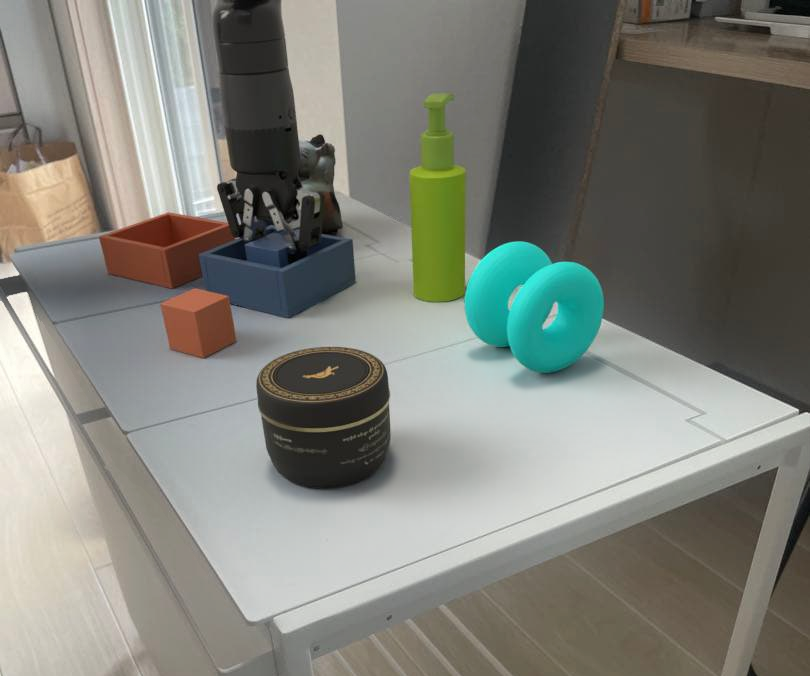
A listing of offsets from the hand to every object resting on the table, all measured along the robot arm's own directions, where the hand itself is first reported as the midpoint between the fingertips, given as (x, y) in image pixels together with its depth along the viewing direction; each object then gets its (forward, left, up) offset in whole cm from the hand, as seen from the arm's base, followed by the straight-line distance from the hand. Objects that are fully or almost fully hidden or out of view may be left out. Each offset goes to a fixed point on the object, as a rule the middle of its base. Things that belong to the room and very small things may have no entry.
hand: (280, 279), depth 97 cm
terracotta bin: (-18, 0, -1) cm, 18 cm away
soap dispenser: (+16, +8, -1) cm, 19 cm away
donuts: (+33, -3, -1) cm, 34 cm away
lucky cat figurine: (-13, +17, -1) cm, 21 cm away
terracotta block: (+3, -16, -1) cm, 16 cm away
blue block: (0, 0, -1) cm, 1 cm away
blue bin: (0, 0, -1) cm, 1 cm away
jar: (+28, -28, -1) cm, 40 cm away
